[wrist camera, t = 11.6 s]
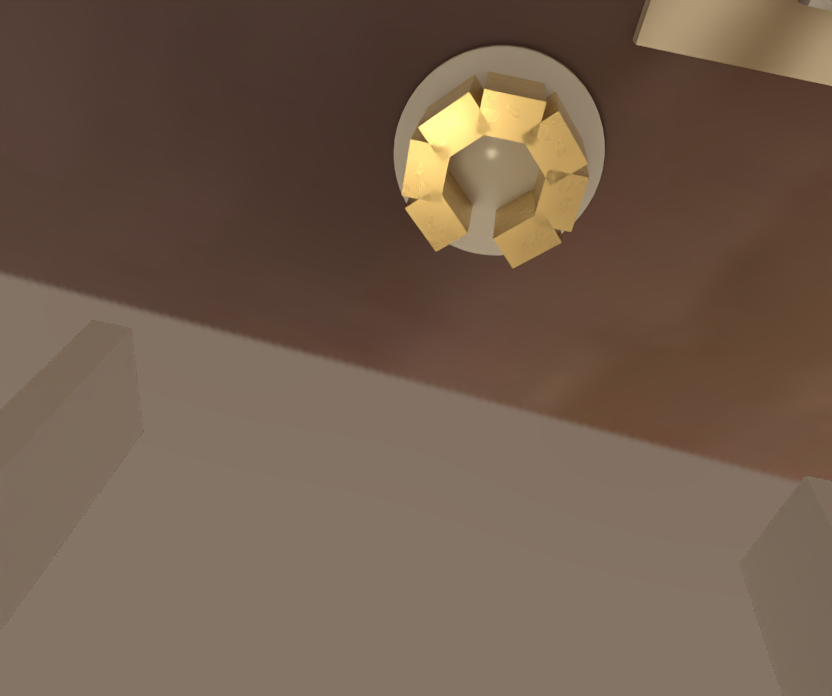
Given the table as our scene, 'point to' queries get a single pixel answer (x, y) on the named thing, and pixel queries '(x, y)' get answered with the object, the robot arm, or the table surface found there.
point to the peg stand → (745, 34)
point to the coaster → (494, 157)
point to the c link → (507, 119)
